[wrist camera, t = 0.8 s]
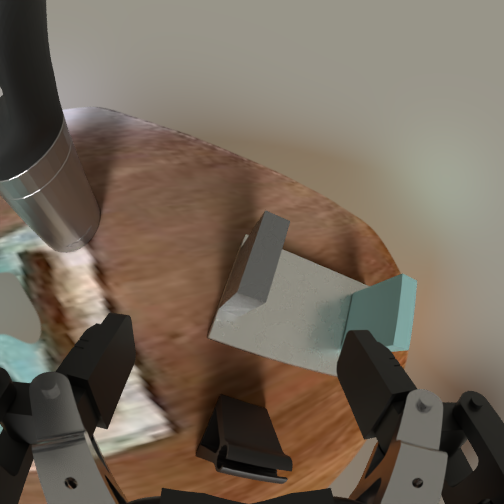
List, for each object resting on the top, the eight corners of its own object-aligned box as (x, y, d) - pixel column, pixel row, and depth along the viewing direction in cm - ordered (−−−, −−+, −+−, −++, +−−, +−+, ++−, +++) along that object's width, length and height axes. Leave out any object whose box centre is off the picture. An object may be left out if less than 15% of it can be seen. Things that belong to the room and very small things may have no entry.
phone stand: (220, 393, 30) (244, 416, 19) (265, 408, 30) (308, 432, 20) (194, 454, 26) (206, 501, 15) (240, 467, 27) (270, 512, 16)
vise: (346, 379, 34) (406, 383, 23) (206, 337, 32) (222, 333, 21) (365, 291, 40) (421, 268, 29) (242, 239, 37) (271, 193, 26)
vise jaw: (362, 355, 34) (415, 352, 24) (341, 349, 33) (393, 345, 24) (372, 300, 37) (423, 284, 28) (353, 292, 36) (402, 273, 27)
